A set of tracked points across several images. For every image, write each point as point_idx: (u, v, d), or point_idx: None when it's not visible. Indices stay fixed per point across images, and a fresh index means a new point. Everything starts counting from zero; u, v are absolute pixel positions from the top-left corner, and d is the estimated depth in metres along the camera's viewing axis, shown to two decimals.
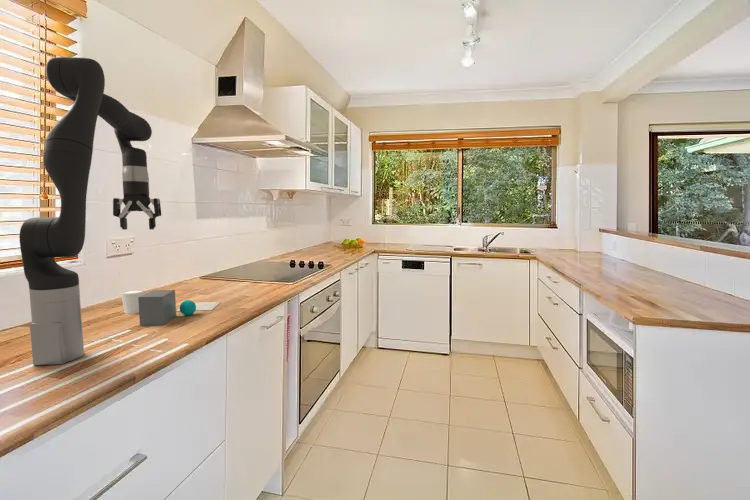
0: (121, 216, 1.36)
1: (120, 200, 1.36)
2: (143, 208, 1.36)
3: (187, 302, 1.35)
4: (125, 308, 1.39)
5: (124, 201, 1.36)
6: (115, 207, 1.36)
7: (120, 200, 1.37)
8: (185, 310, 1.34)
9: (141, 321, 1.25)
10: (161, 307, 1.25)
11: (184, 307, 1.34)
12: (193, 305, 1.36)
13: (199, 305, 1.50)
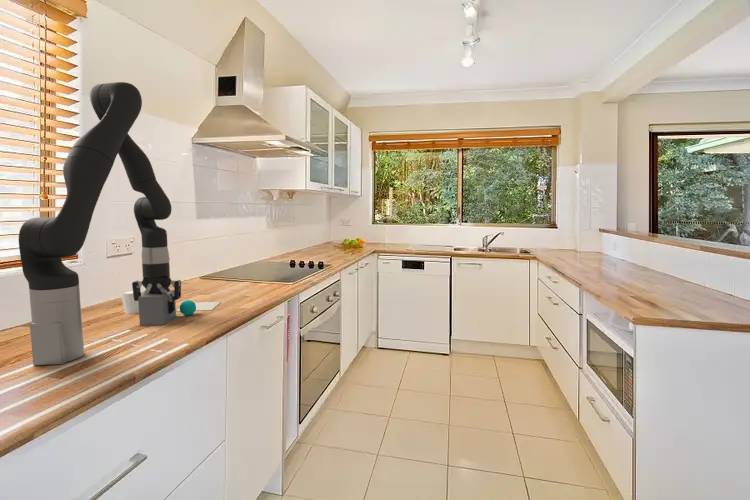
0: None
1: (139, 283, 1.28)
2: (164, 291, 1.28)
3: (187, 302, 1.35)
4: (125, 308, 1.39)
5: (143, 284, 1.28)
6: (135, 291, 1.28)
7: (140, 283, 1.28)
8: (185, 310, 1.34)
9: (141, 321, 1.25)
10: (161, 307, 1.25)
11: (184, 307, 1.34)
12: (193, 305, 1.36)
13: (199, 305, 1.50)
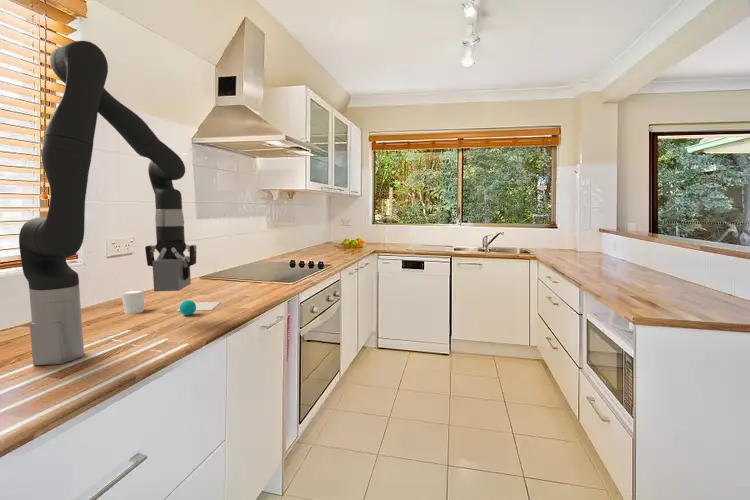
0: None
1: (153, 247, 1.22)
2: (179, 255, 1.22)
3: (187, 302, 1.35)
4: (125, 308, 1.39)
5: (157, 248, 1.21)
6: (148, 256, 1.21)
7: (153, 248, 1.22)
8: (185, 310, 1.34)
9: (155, 286, 1.18)
10: (176, 271, 1.19)
11: (184, 307, 1.34)
12: (193, 305, 1.36)
13: (199, 305, 1.50)
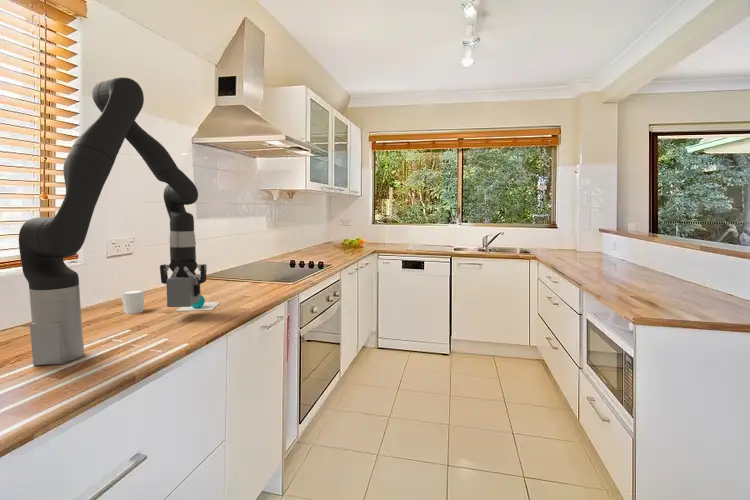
0: None
1: (167, 266, 1.32)
2: (190, 274, 1.32)
3: (198, 307, 1.47)
4: (125, 308, 1.39)
5: (171, 267, 1.31)
6: (162, 274, 1.31)
7: (167, 266, 1.32)
8: None
9: (169, 302, 1.28)
10: (188, 289, 1.28)
11: None
12: (203, 304, 1.47)
13: None
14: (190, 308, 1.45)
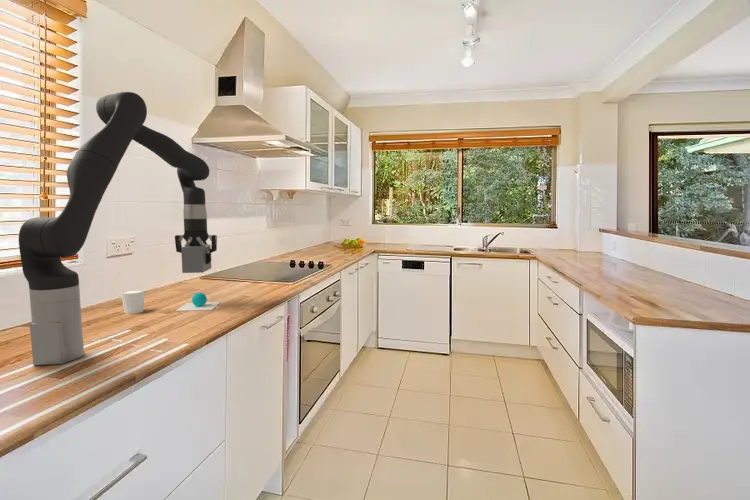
0: None
1: (181, 236, 1.45)
2: (202, 243, 1.45)
3: (198, 303, 1.47)
4: (125, 308, 1.39)
5: (185, 237, 1.45)
6: (177, 244, 1.45)
7: (181, 237, 1.45)
8: None
9: (183, 269, 1.42)
10: (201, 256, 1.42)
11: None
12: (204, 302, 1.49)
13: None
14: (190, 308, 1.45)
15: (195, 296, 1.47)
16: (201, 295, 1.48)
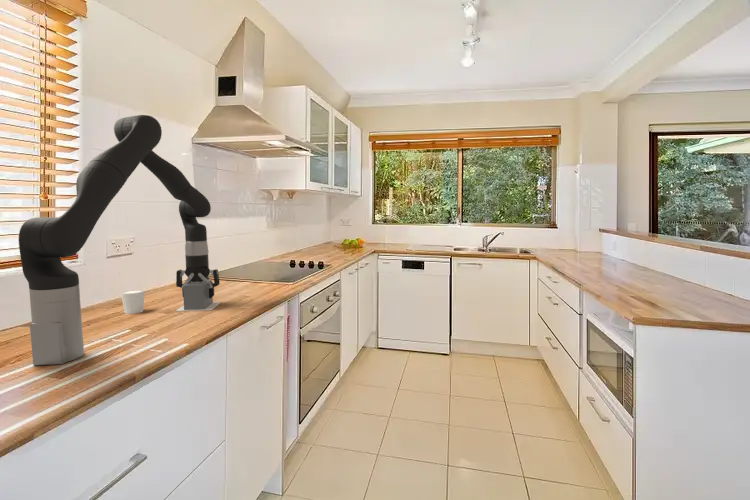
0: None
1: (182, 272, 1.47)
2: (204, 279, 1.47)
3: None
4: (125, 308, 1.39)
5: (186, 273, 1.46)
6: (178, 279, 1.46)
7: (183, 272, 1.47)
8: None
9: (185, 306, 1.43)
10: (202, 294, 1.43)
11: None
12: None
13: None
14: None
15: None
16: None
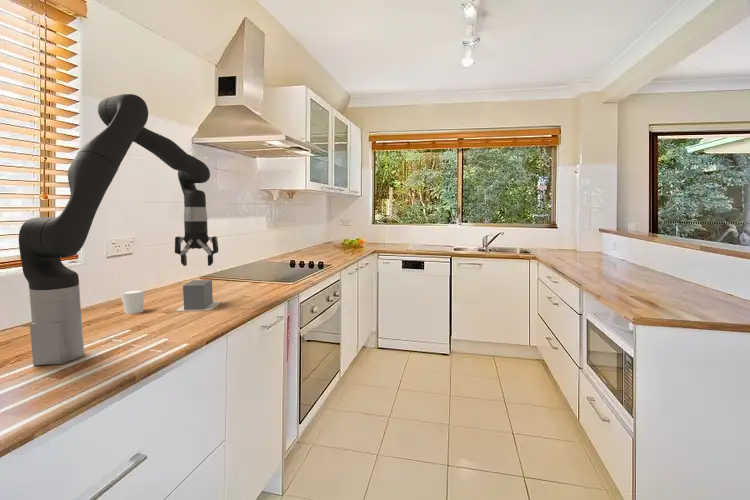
0: (182, 253, 1.45)
1: (181, 238, 1.46)
2: (203, 246, 1.45)
3: None
4: (125, 308, 1.39)
5: (185, 239, 1.45)
6: (177, 245, 1.45)
7: (181, 239, 1.46)
8: None
9: (185, 306, 1.43)
10: (202, 294, 1.43)
11: None
12: None
13: None
14: None
15: None
16: None
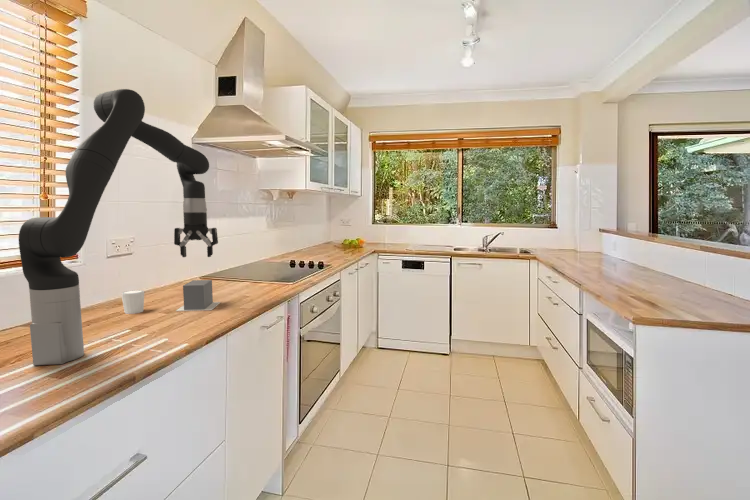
0: (182, 245, 1.45)
1: (180, 230, 1.45)
2: (202, 237, 1.45)
3: None
4: (125, 308, 1.39)
5: (184, 231, 1.45)
6: (176, 236, 1.45)
7: (181, 230, 1.45)
8: None
9: (185, 306, 1.43)
10: (202, 294, 1.43)
11: None
12: None
13: None
14: None
15: None
16: None
